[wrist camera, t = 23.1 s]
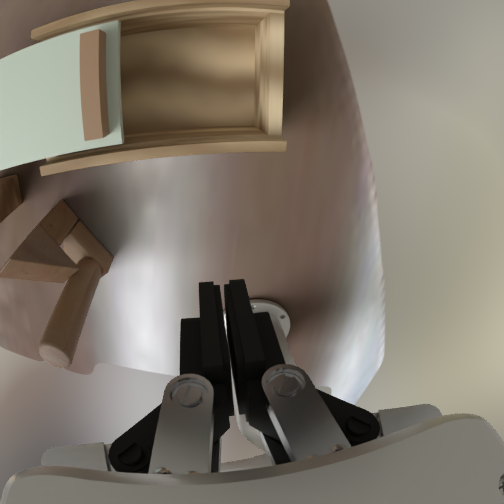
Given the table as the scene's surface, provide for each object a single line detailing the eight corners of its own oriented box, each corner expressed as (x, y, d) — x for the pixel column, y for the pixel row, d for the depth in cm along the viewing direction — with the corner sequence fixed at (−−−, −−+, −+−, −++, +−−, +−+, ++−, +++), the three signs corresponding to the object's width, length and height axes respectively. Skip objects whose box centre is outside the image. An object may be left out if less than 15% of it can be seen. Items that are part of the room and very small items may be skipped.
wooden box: (262, 134, 32) (286, 151, 24) (77, 152, 29) (41, 176, 21) (264, 20, 25) (289, -3, 17) (70, 41, 22) (31, 30, 14)
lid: (124, 141, 22) (116, 148, 20) (-35, 181, 19) (-50, 190, 17) (120, 22, 17) (111, 15, 14) (-46, 87, 13) (-63, 91, 11)
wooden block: (63, 197, 31) (-10, 283, 16) (115, 256, 37) (80, 363, 22) (47, 214, 32) (-23, 302, 17) (97, 270, 37) (61, 374, 22)
